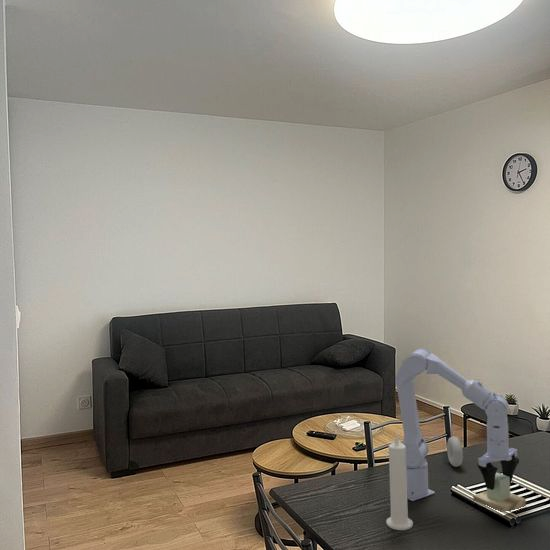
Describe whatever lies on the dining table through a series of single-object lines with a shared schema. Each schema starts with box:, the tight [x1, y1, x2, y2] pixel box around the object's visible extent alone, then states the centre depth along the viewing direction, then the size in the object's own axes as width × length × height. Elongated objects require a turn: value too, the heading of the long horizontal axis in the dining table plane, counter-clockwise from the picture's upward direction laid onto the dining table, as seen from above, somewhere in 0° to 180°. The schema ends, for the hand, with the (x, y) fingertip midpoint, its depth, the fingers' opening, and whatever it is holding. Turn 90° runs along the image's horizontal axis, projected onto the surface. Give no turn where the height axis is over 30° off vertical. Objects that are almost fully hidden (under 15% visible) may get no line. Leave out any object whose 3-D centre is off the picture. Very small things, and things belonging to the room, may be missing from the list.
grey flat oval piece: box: [446, 436, 464, 468], centre depth 195 cm, size 10×4×10 cm, turn 179°
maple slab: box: [472, 490, 527, 512], centre depth 165 cm, size 10×10×3 cm
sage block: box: [486, 471, 511, 502], centre depth 165 cm, size 4×4×6 cm
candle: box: [386, 433, 414, 531], centre depth 155 cm, size 7×7×25 cm
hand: (498, 485), depth 165 cm, fingers open, 7 cm apart
